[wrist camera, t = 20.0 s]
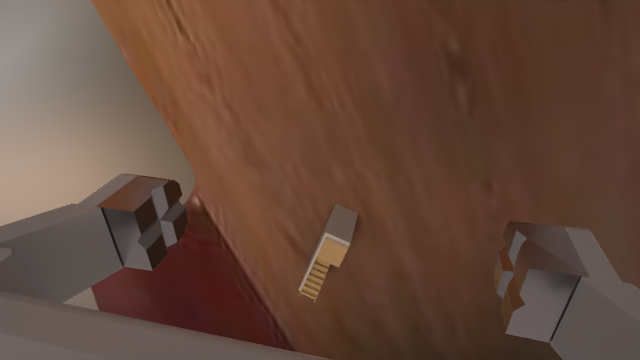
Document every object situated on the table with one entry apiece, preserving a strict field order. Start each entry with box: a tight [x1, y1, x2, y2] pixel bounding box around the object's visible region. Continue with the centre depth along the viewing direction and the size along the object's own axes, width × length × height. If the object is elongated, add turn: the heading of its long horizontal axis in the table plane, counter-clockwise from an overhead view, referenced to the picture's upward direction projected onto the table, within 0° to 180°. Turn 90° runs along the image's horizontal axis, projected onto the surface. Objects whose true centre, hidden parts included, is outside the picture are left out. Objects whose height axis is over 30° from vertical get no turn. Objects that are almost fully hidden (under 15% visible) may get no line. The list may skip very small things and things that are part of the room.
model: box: [299, 204, 358, 303], centre depth 50 cm, size 3×11×8 cm, turn 161°
